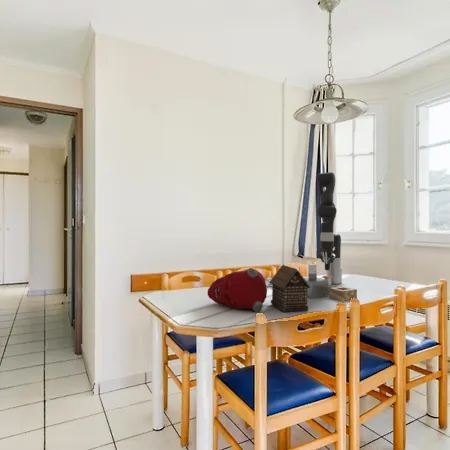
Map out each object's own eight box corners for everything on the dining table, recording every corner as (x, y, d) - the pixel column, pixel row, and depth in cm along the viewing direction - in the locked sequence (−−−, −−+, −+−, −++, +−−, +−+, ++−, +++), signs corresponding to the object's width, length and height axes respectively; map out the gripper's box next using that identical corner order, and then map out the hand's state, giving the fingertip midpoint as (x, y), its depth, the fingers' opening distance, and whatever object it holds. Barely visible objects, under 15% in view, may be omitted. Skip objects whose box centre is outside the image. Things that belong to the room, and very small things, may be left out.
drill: (313, 288, 195) (312, 263, 195) (316, 289, 192) (316, 264, 192) (308, 288, 193) (308, 264, 193) (312, 289, 190) (312, 264, 190)
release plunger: (327, 285, 200) (327, 275, 200) (332, 286, 196) (332, 276, 196) (322, 285, 198) (322, 275, 198) (327, 286, 195) (327, 276, 195)
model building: (311, 311, 159) (310, 268, 158) (282, 313, 156) (281, 269, 156) (295, 302, 176) (295, 263, 176) (269, 304, 174) (268, 264, 173)
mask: (197, 275, 172) (241, 269, 151) (233, 269, 190) (276, 263, 170) (203, 316, 169) (248, 316, 149) (239, 305, 188) (283, 304, 167)
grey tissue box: (325, 290, 204) (325, 275, 204) (339, 294, 193) (339, 278, 193) (297, 294, 195) (297, 278, 195) (311, 298, 185) (311, 281, 185)
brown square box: (343, 295, 192) (343, 286, 192) (357, 298, 183) (356, 289, 183) (329, 297, 188) (329, 288, 188) (343, 300, 179) (342, 291, 179)
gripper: (340, 240, 193) (340, 271, 193) (324, 239, 205) (324, 268, 205) (330, 240, 190) (330, 271, 190) (314, 240, 202) (314, 269, 202)
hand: (327, 270), depth 197 cm, fingers closed
